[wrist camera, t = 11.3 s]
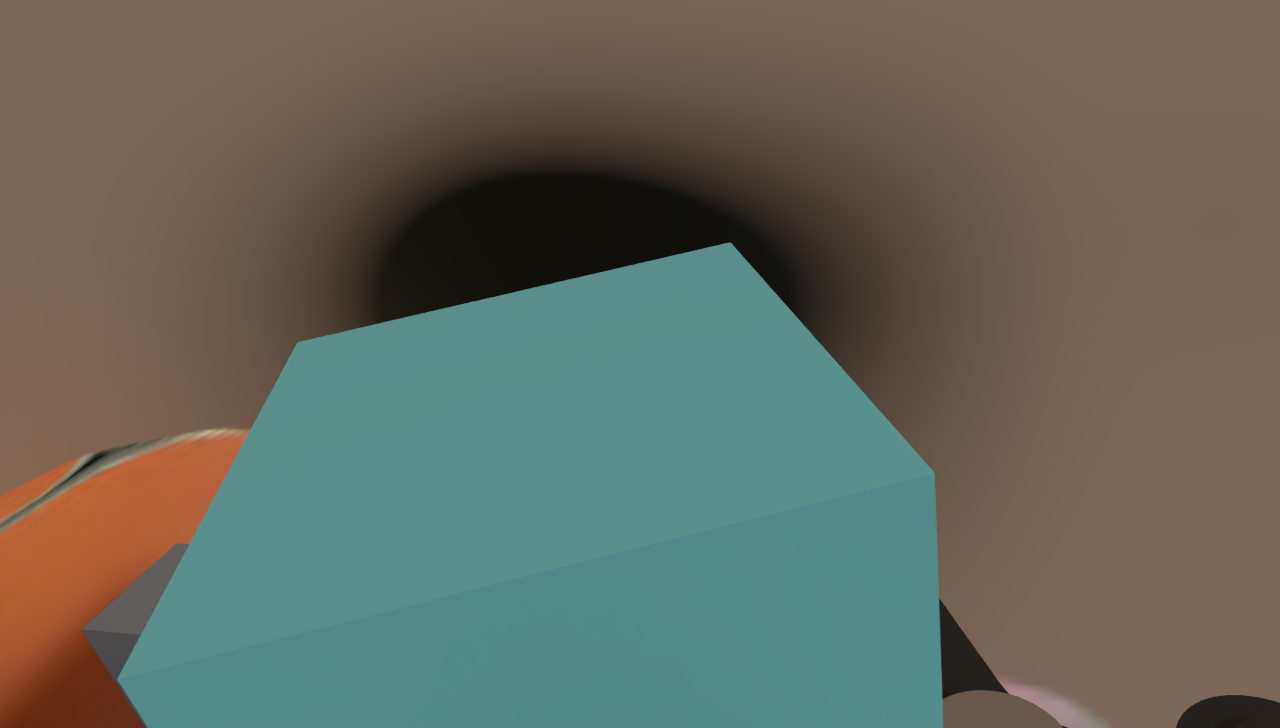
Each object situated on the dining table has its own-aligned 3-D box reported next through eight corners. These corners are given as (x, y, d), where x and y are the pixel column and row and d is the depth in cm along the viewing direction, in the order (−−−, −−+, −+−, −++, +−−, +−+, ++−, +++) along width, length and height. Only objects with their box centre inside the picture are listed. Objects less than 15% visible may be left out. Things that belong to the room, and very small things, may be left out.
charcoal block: (211, 831, 34) (81, 629, 29) (281, 736, 38) (176, 543, 33) (302, 848, 32) (181, 638, 27) (366, 748, 36) (269, 547, 31)
